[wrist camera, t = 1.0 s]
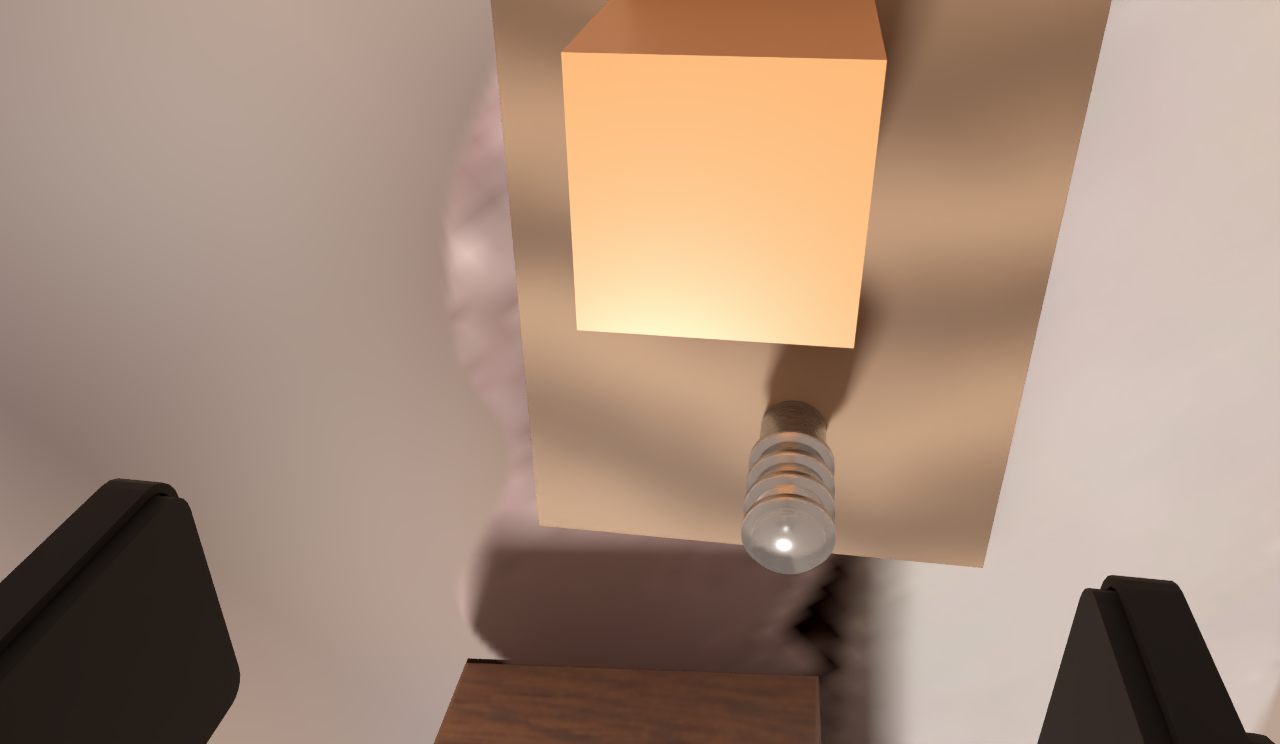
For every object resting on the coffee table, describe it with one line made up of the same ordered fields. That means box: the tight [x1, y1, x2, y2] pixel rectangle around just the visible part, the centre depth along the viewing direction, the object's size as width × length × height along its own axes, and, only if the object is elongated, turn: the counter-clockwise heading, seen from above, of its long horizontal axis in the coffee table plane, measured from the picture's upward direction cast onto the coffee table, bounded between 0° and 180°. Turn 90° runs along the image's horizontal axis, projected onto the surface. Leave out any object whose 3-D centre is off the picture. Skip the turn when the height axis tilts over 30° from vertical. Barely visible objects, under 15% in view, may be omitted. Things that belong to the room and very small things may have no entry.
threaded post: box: [741, 401, 836, 574], centre depth 28 cm, size 2×2×6 cm
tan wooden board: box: [491, 0, 1111, 568], centre depth 28 cm, size 20×15×1 cm
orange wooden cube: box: [561, 0, 887, 348], centre depth 22 cm, size 6×6×7 cm
